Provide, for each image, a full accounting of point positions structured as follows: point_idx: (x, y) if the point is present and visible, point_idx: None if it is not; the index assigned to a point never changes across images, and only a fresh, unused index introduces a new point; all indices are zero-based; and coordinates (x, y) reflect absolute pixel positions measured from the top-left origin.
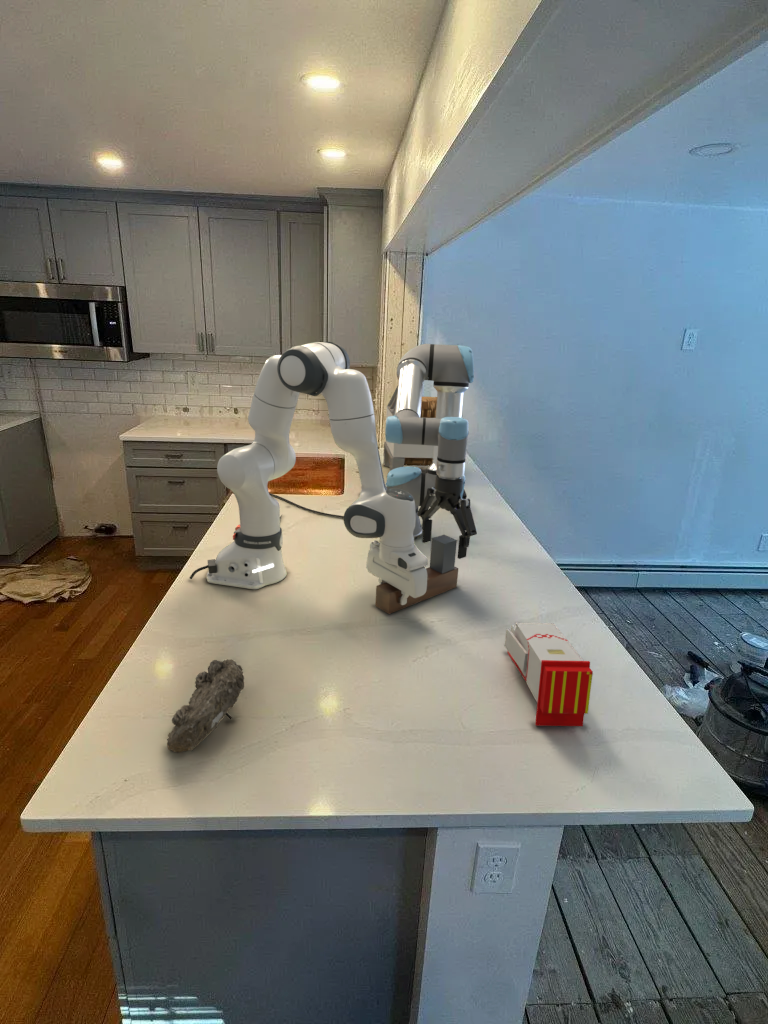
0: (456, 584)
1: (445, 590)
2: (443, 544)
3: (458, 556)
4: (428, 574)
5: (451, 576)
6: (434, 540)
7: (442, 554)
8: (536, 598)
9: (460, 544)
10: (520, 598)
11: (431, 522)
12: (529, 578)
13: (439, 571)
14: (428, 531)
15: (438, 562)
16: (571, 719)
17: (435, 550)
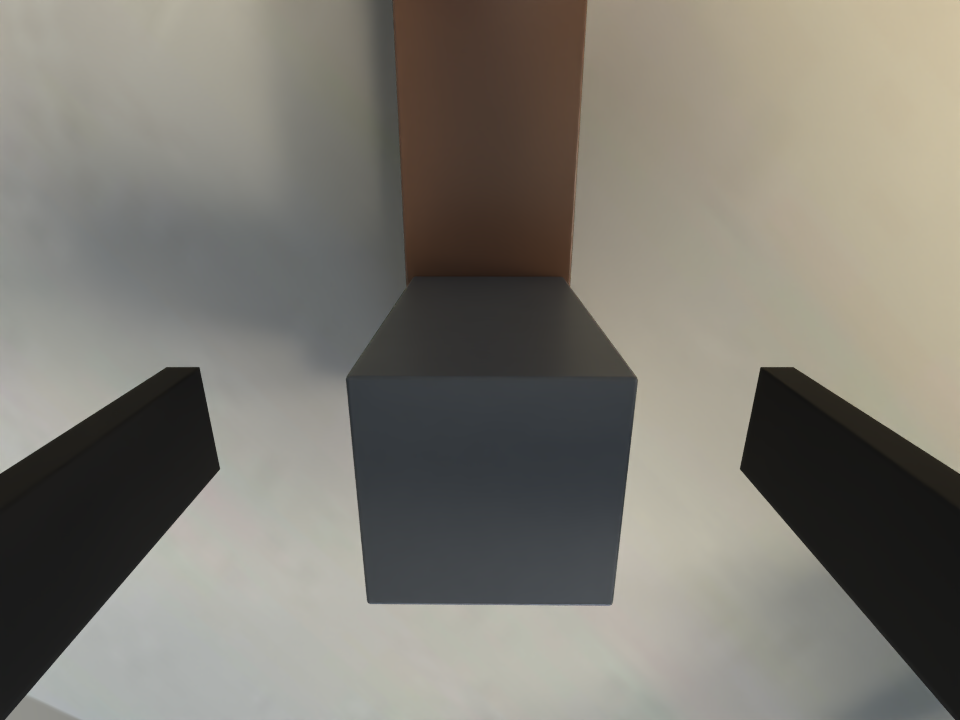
0: None
1: None
2: (373, 371)
3: (171, 377)
4: (471, 167)
5: None
6: (569, 371)
7: (400, 322)
8: (125, 598)
9: (20, 466)
10: (158, 545)
11: (935, 677)
12: (297, 710)
13: (442, 277)
14: (836, 509)
15: (461, 296)
16: None
17: (521, 327)
